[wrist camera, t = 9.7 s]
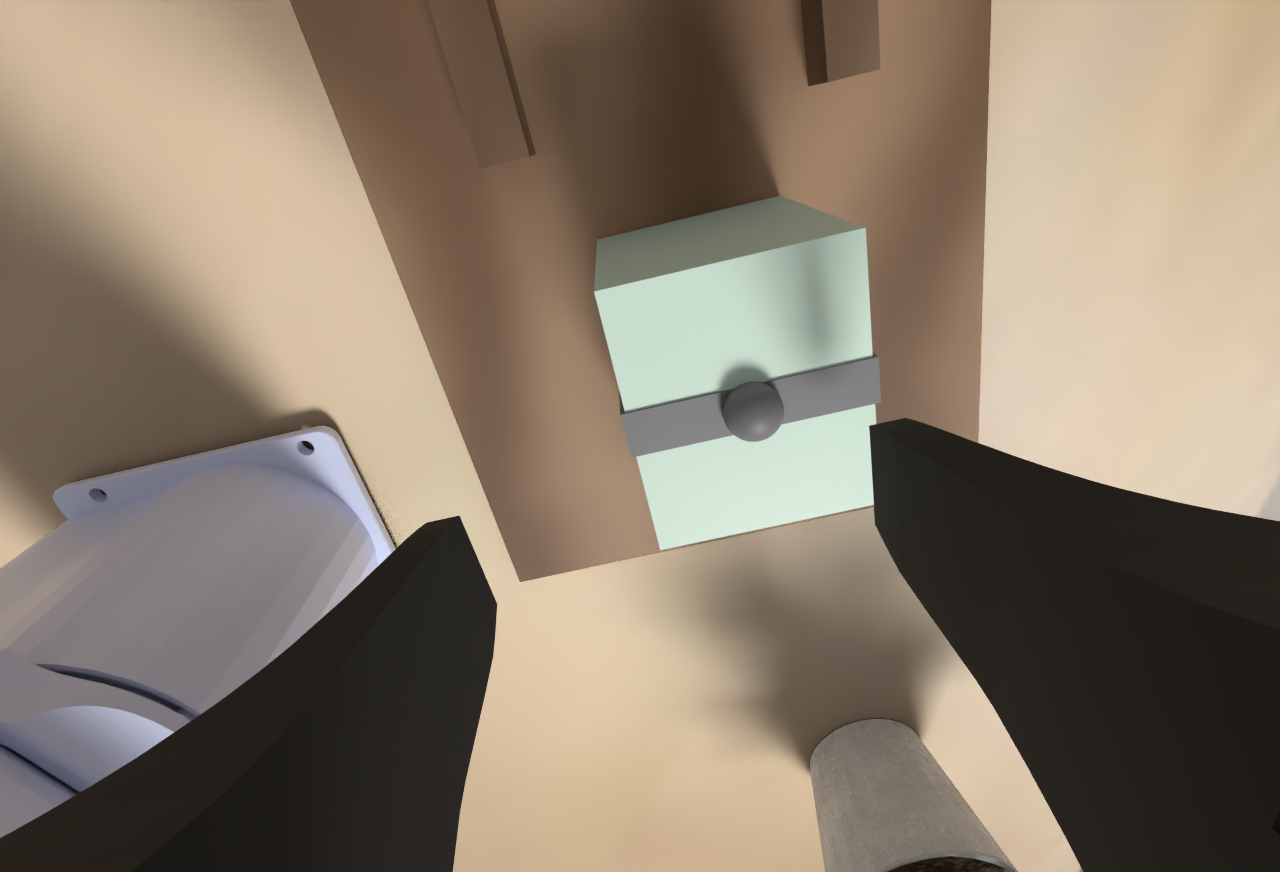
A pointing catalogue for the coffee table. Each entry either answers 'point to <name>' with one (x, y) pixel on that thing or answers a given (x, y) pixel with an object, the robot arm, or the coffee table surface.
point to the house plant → (894, 806)
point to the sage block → (743, 366)
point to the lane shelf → (650, 203)
